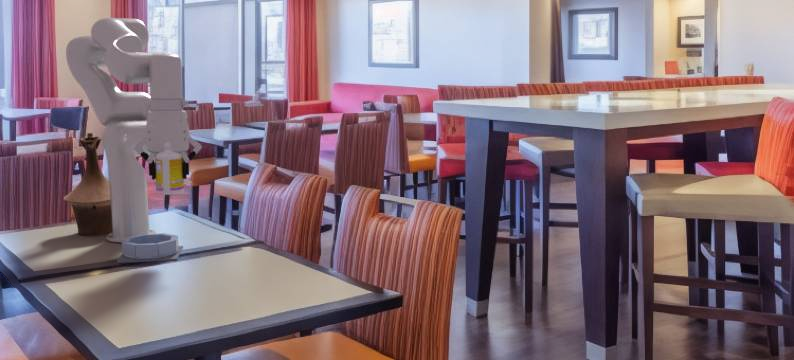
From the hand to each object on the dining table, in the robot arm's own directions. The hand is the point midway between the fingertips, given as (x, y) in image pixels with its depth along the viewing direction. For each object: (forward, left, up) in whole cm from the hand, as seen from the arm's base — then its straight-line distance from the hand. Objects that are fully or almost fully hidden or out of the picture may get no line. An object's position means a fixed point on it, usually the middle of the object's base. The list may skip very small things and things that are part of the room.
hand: (169, 177), depth 202 cm
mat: (+1, -5, -19) cm, 20 cm away
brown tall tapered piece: (-31, -24, -19) cm, 44 cm away
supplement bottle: (0, 0, -4) cm, 4 cm away
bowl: (+1, -5, -19) cm, 19 cm away
